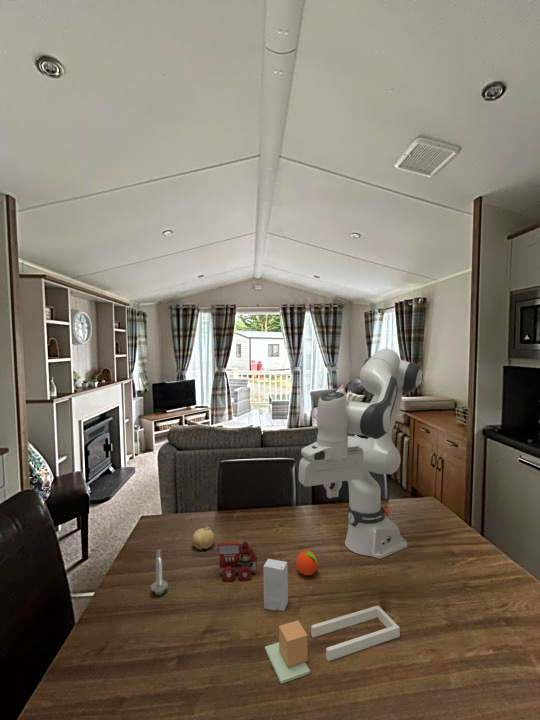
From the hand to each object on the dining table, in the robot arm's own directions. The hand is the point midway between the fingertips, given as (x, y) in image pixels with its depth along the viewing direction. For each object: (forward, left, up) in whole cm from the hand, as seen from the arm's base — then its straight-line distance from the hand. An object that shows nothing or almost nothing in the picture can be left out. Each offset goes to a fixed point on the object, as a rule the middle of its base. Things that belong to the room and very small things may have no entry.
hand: (332, 496), depth 108 cm
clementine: (+2, -12, -29) cm, 32 cm away
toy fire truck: (+23, -20, -29) cm, 42 cm away
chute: (+3, +16, -29) cm, 33 cm away
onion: (+30, -41, -29) cm, 59 cm away
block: (+20, +16, -28) cm, 38 cm away
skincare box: (+17, -2, -29) cm, 34 cm away
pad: (+20, +16, -29) cm, 39 cm away
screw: (+47, -20, -29) cm, 59 cm away
